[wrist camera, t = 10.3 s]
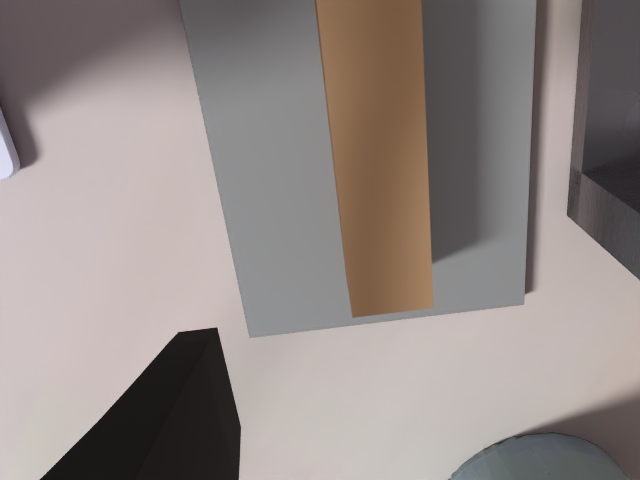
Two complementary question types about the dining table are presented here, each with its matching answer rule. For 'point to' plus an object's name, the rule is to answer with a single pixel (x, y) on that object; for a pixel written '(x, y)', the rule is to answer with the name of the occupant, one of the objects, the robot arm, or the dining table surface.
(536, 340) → the dining table surface
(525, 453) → the teal tumbler
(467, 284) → the grey mat
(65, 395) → the dining table surface
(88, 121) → the dining table surface
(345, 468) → the dining table surface
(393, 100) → the walnut bar
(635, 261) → the dark grey cradle
